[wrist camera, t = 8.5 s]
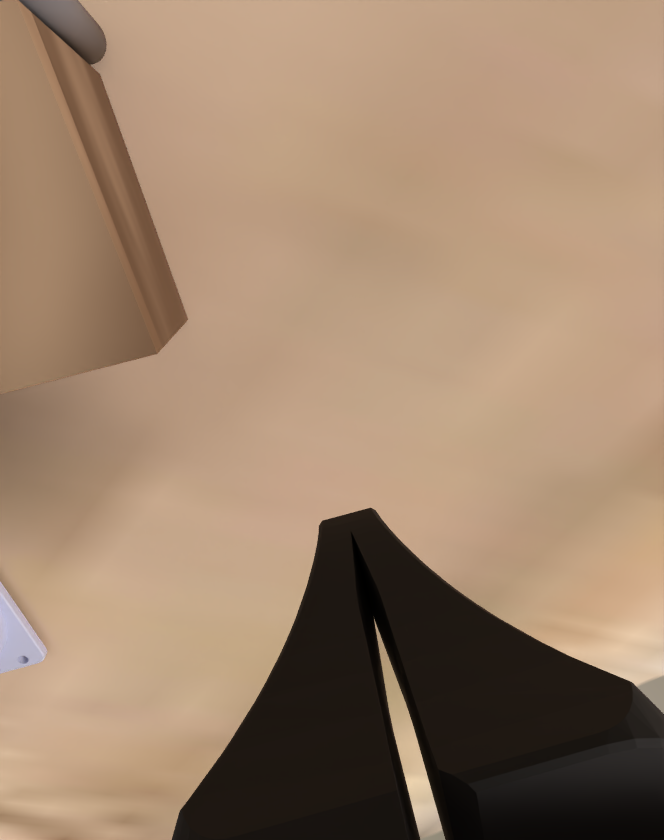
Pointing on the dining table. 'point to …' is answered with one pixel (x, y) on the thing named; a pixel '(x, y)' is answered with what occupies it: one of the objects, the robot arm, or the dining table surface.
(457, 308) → the dining table surface
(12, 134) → the cabinet
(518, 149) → the dining table surface
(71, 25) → the door
